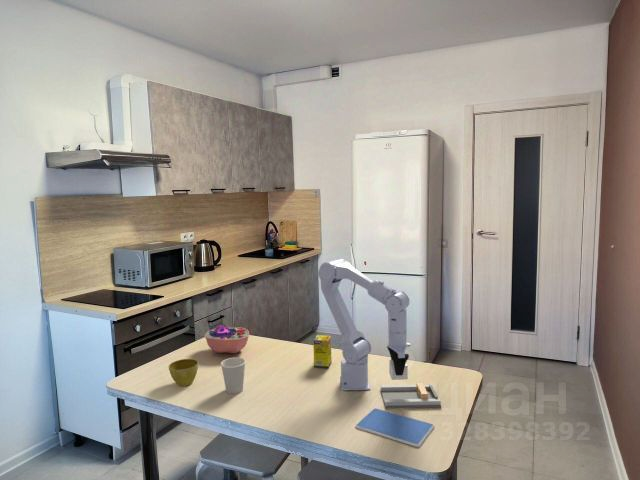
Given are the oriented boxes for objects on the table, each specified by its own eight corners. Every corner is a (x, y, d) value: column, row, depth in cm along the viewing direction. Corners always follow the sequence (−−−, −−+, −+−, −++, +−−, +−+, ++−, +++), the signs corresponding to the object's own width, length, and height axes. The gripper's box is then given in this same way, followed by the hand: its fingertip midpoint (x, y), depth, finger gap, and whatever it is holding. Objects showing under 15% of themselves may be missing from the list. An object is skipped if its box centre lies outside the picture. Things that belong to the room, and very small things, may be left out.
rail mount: (385, 408, 137) (385, 400, 137) (380, 389, 149) (380, 382, 149) (441, 407, 137) (441, 399, 136) (431, 388, 149) (431, 382, 149)
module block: (391, 379, 141) (391, 366, 141) (389, 372, 146) (389, 359, 146) (407, 379, 141) (407, 365, 141) (404, 372, 146) (404, 359, 146)
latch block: (421, 401, 139) (421, 394, 139) (416, 389, 147) (416, 382, 147) (428, 401, 139) (428, 393, 139) (422, 389, 147) (422, 382, 146)
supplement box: (329, 368, 168) (328, 340, 166) (313, 367, 169) (312, 340, 168) (332, 362, 174) (331, 335, 172) (316, 361, 175) (316, 334, 173)
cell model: (231, 363, 175) (230, 335, 174) (196, 354, 186) (195, 327, 185) (259, 349, 189) (258, 323, 188) (225, 341, 200) (224, 317, 199)
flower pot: (163, 386, 156) (162, 367, 155) (183, 375, 165) (182, 357, 164) (185, 391, 152) (184, 371, 151) (205, 380, 161) (204, 361, 160)
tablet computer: (353, 429, 127) (353, 425, 126) (374, 410, 137) (374, 406, 137) (418, 450, 116) (418, 445, 116) (435, 428, 126) (435, 423, 126)
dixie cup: (232, 383, 158) (230, 355, 156) (251, 387, 154) (250, 359, 153) (216, 393, 150) (215, 364, 149) (237, 397, 146) (235, 368, 145)
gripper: (414, 337, 135) (414, 380, 136) (405, 323, 149) (405, 362, 151) (391, 338, 135) (391, 381, 136) (384, 323, 149) (385, 362, 151)
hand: (397, 371), depth 144 cm, fingers closed on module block, 5 cm apart
